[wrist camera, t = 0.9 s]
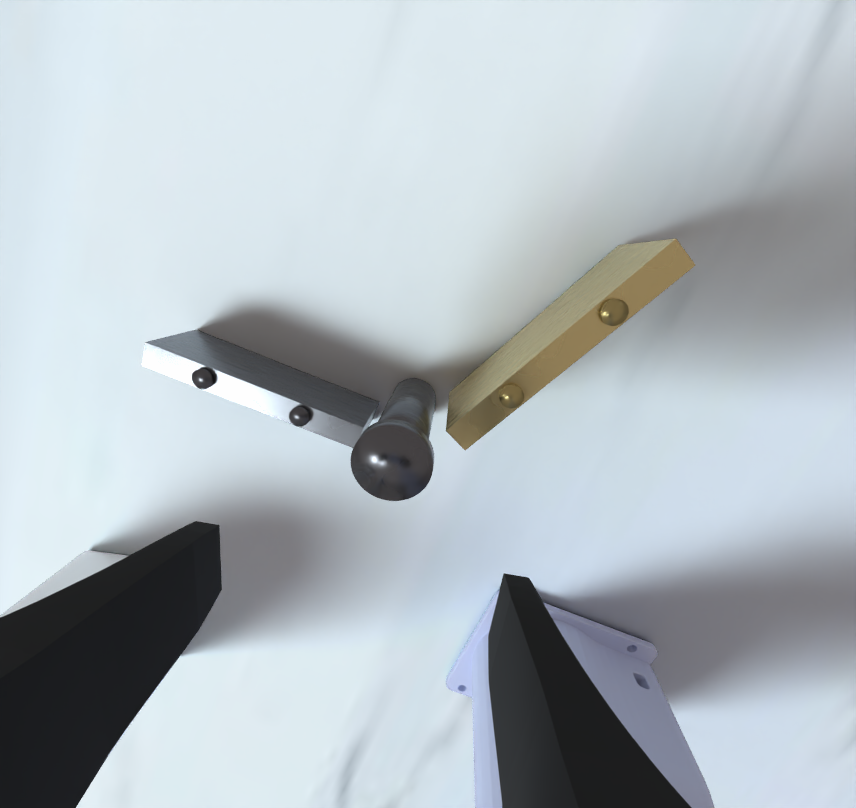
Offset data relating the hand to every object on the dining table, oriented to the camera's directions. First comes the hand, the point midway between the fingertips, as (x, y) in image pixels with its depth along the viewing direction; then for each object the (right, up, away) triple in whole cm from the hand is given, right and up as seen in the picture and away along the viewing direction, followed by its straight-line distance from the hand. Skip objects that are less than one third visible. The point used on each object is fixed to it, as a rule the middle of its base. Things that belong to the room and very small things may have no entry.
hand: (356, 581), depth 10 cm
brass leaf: (+6, +7, +7) cm, 12 cm away
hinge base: (-3, +6, +9) cm, 11 cm away
